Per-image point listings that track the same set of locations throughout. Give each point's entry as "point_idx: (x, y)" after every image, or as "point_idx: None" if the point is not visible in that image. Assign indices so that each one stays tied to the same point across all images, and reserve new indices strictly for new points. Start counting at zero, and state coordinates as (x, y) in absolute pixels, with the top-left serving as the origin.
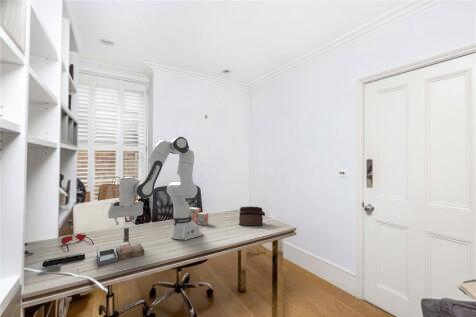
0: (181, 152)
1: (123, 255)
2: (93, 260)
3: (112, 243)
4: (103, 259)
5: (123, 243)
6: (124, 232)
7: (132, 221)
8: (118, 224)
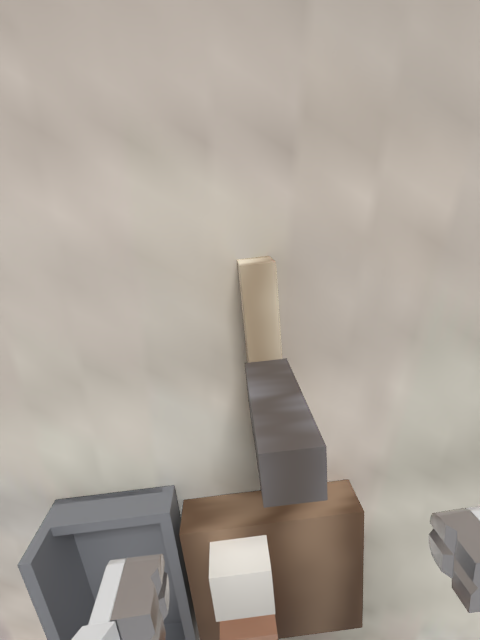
0: None
1: None
2: None
3: (138, 263)
4: None
5: (235, 590)
6: (257, 463)
7: (449, 536)
8: (162, 591)
